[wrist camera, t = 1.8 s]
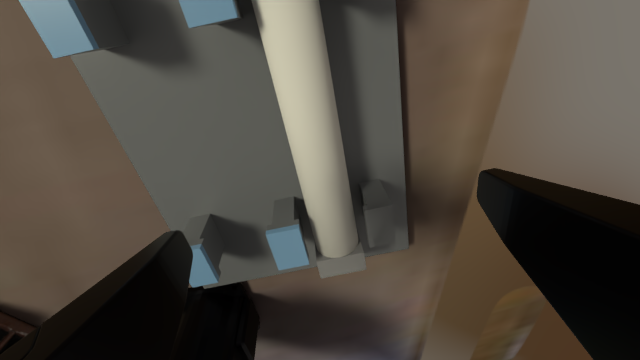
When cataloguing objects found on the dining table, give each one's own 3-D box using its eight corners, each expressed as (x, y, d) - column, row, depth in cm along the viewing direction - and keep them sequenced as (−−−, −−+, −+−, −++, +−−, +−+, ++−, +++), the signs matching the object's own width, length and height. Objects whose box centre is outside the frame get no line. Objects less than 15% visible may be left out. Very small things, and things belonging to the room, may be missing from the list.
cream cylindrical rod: (358, 240, 23) (366, 269, 20) (317, 248, 23) (320, 278, 20) (295, -139, 12) (295, -181, 10) (221, -121, 12) (201, -158, 10)
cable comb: (206, 281, 25) (190, 329, 21) (-18, -121, 12) (-159, -183, 8) (405, 241, 24) (426, 284, 20) (378, -216, 12) (418, -328, 8)
